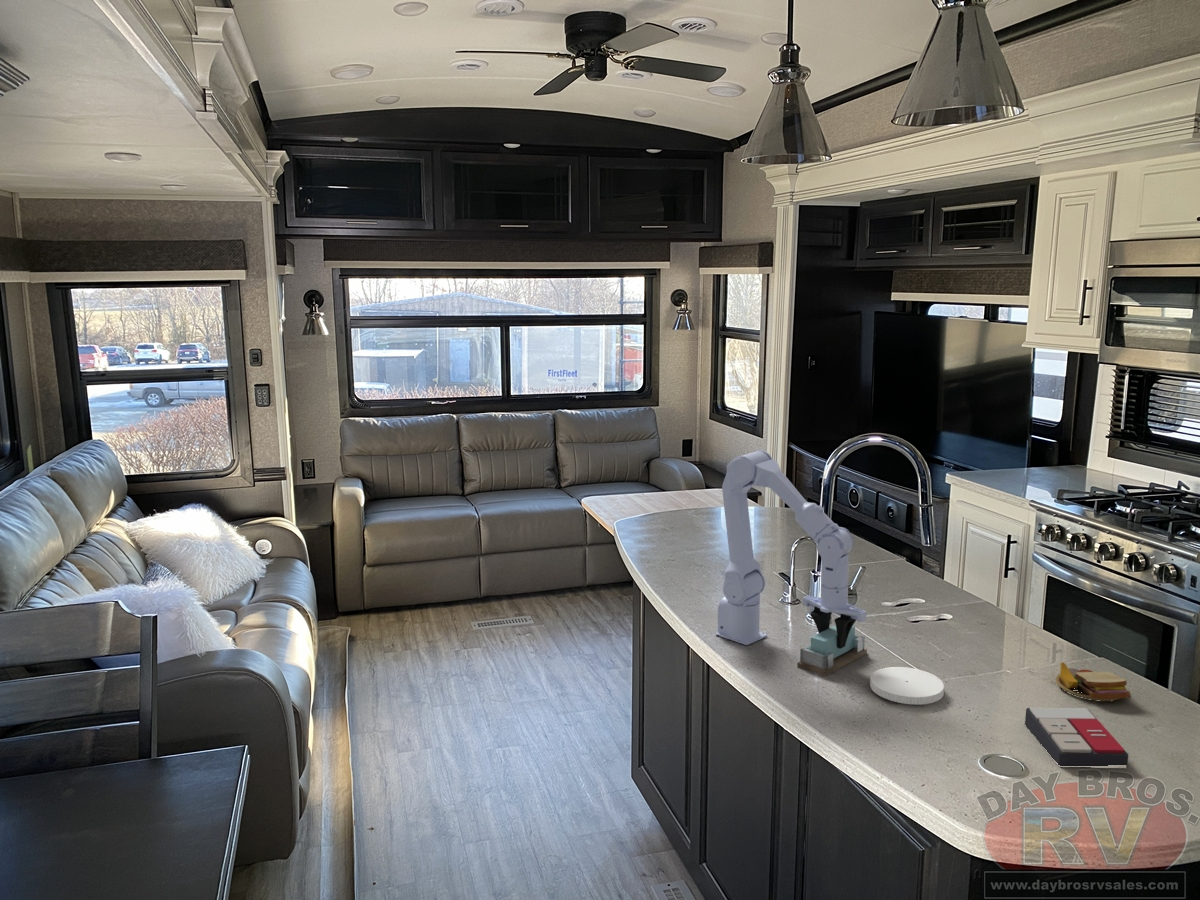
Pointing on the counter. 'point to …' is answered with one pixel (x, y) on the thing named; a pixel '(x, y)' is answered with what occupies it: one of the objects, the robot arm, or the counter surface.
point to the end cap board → (835, 662)
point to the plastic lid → (907, 685)
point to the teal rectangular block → (831, 642)
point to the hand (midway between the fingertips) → (832, 644)
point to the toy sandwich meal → (1092, 684)
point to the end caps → (826, 660)
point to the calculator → (1074, 737)
